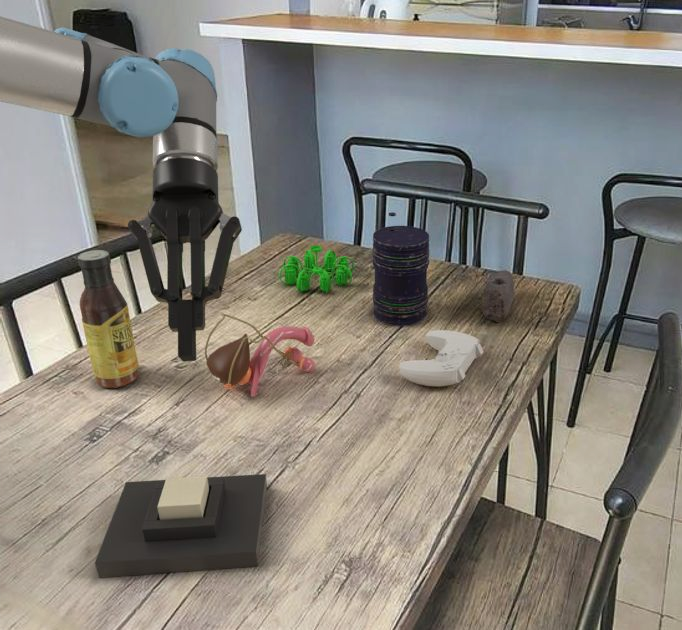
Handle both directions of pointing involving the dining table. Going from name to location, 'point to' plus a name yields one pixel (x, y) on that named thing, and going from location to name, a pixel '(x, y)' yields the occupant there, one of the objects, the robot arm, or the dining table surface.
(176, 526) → the stepped tiered pedestal
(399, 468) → the dining table surface
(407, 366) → the game controller
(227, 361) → the anatomy model
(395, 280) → the storage jar
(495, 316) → the perforated stone tool
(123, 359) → the sauce bottle
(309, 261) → the chandelier
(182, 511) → the key
